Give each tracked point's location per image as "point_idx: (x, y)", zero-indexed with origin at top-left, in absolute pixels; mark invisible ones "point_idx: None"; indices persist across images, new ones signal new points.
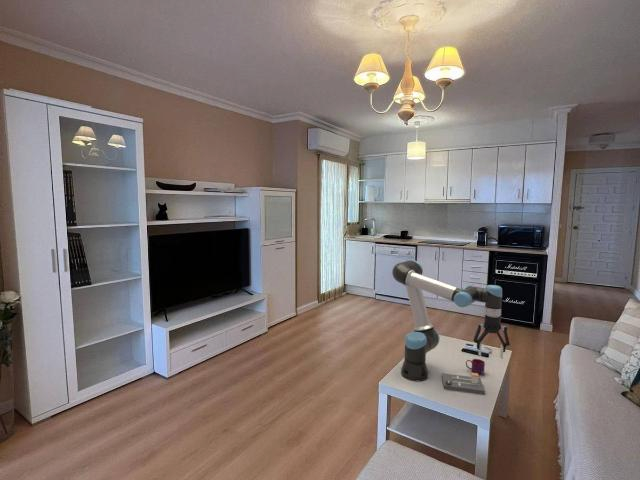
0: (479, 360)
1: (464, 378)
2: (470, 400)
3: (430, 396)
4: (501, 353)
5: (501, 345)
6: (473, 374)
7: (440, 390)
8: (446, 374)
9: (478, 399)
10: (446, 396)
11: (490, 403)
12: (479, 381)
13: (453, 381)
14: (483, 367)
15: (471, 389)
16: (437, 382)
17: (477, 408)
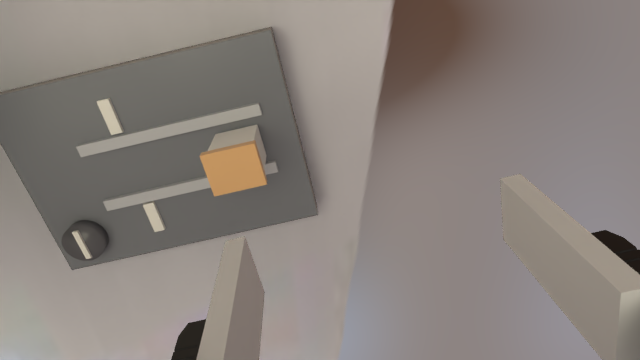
0: None
1: (161, 108)
2: None
3: (53, 353)
4: (541, 285)
5: (625, 328)
6: (223, 179)
7: (72, 278)
8: (17, 107)
9: (286, 269)
10: (125, 317)
11: (347, 277)
12: (271, 100)
13: (106, 204)
14: None
15: (236, 231)
16: (12, 196)
17: (289, 344)
